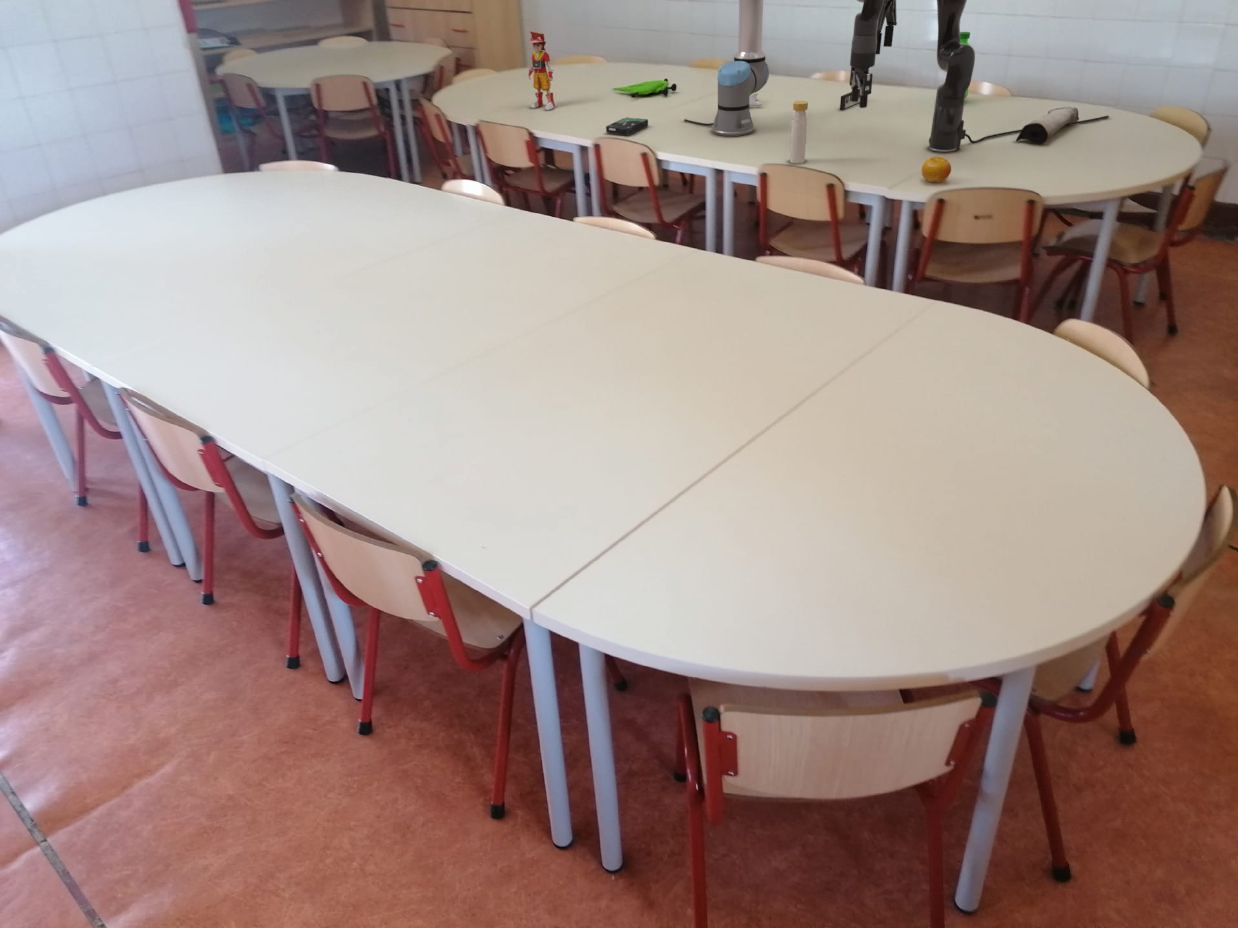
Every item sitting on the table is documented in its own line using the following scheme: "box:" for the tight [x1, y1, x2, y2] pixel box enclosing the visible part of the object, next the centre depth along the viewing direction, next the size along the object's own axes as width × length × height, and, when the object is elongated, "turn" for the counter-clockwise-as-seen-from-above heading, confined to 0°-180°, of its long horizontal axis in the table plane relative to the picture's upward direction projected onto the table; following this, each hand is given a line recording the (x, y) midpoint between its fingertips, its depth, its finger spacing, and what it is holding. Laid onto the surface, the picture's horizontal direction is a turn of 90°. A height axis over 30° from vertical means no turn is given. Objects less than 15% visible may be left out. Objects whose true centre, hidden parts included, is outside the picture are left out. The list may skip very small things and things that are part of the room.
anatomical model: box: [749, 92, 763, 109], centre depth 366 cm, size 15×10×10 cm
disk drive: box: [605, 116, 649, 136], centre depth 345 cm, size 10×3×15 cm
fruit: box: [921, 156, 952, 183], centre depth 276 cm, size 8×8×8 cm
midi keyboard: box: [839, 89, 860, 111], centre depth 358 cm, size 18×1×5 cm, turn 138°
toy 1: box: [527, 31, 556, 111], centre depth 374 cm, size 12×9×30 cm
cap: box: [792, 100, 809, 112], centre depth 292 cm, size 4×4×2 cm
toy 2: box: [612, 78, 677, 99], centre depth 396 cm, size 28×5×30 cm
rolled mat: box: [1015, 106, 1080, 145], centre depth 311 cm, size 30×9×10 cm
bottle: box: [789, 110, 808, 164], centre depth 297 cm, size 5×5×19 cm
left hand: (881, 50), depth 308 cm, fingers open, 13 cm apart
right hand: (858, 104), depth 287 cm, fingers open, 8 cm apart
